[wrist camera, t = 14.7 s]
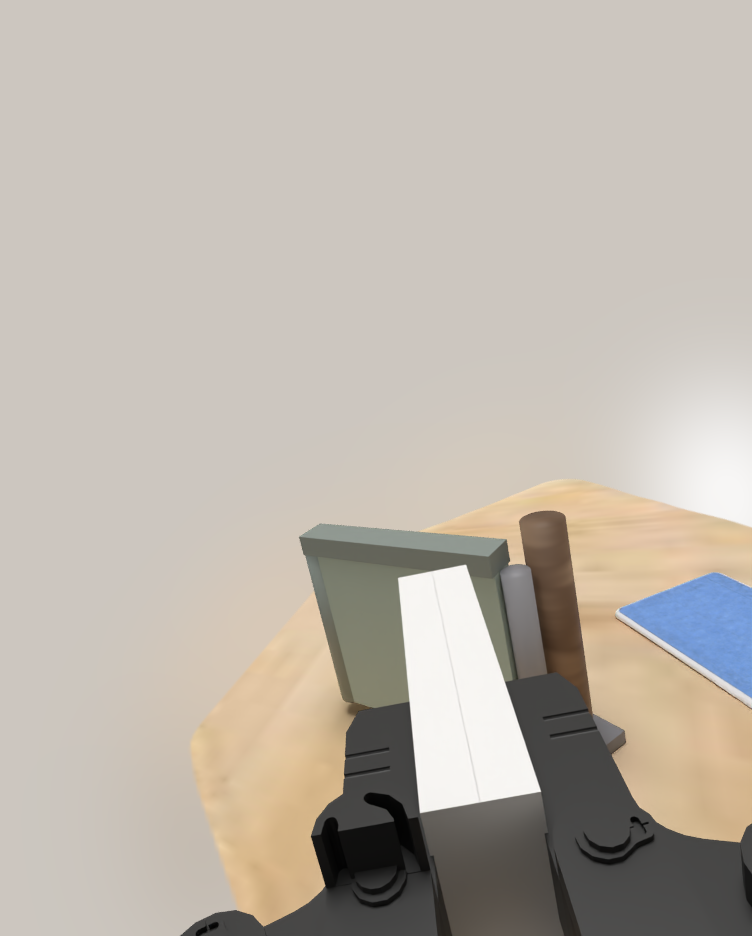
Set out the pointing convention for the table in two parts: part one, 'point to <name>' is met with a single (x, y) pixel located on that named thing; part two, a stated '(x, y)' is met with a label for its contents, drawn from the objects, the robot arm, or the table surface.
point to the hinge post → (560, 607)
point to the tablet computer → (702, 628)
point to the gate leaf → (379, 610)
